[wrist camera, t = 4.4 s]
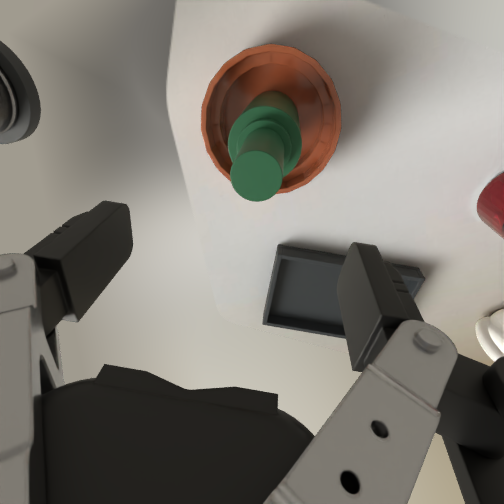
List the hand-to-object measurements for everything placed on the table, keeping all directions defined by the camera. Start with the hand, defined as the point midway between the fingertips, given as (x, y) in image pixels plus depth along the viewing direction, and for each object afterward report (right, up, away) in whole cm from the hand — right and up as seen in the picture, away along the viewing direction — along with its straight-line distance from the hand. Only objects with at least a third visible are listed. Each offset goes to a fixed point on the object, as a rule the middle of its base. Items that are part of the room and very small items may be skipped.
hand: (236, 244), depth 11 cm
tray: (+13, -6, +33) cm, 36 cm away
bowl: (+3, +14, +21) cm, 26 cm away
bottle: (+3, +14, +21) cm, 25 cm away
